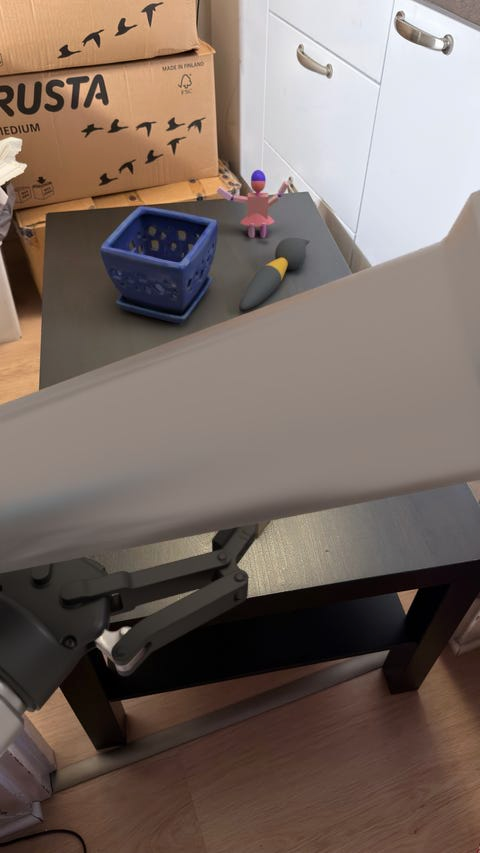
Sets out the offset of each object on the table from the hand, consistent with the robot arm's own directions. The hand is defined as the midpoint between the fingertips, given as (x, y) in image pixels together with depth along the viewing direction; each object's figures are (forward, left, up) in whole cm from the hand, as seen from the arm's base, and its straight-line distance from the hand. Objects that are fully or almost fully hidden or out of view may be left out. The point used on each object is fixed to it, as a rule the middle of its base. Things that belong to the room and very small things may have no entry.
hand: (191, 450), depth 49 cm
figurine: (+48, -47, -21) cm, 71 cm away
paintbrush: (+34, -41, -21) cm, 57 cm away
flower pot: (+41, -24, -21) cm, 52 cm away
